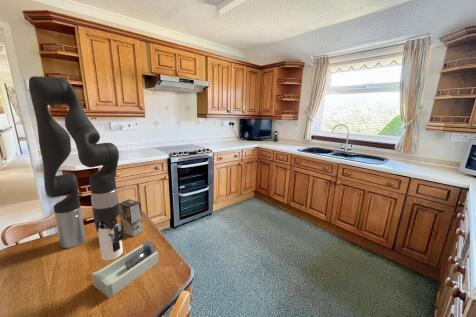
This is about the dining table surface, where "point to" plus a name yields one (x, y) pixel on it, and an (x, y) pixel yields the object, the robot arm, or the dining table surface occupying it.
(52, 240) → the dining table surface
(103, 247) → the can
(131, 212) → the coffee box
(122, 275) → the cradle
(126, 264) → the shaft
